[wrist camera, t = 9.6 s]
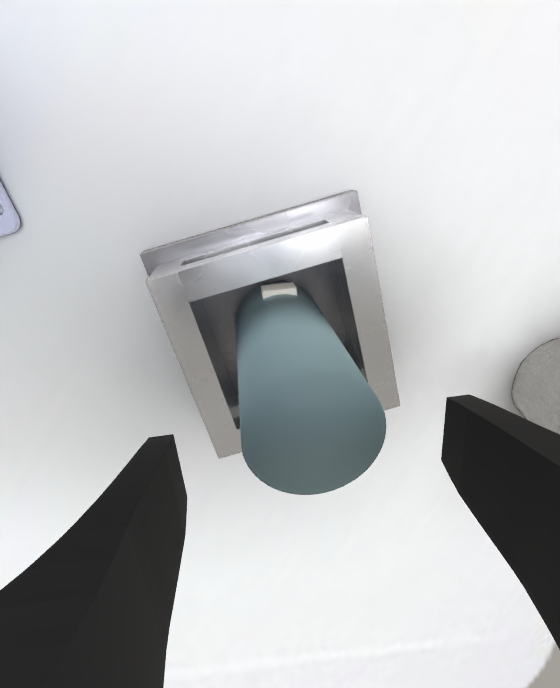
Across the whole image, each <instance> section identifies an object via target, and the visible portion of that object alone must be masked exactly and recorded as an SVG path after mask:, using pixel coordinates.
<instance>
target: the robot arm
mask: <svg viewBox="0 0 560 688" xmlns="http://www.w3.org/2000/svg"><path fill="white" fill-rule="evenodd" d="M0 205H1V206H2V207H3V214H2V215H0V236H4V235H7V234H10V233H14V232H15V231H17V230H18V229H19V227H20V220H19V217H18V215H17V213H16V211H15V209H14V207H13V205H12V203H11V201H10V199H9V197H8V195H7V193H6V191H5V189H4V187H3V185H2V183H1V182H0ZM441 460H442V462H443V464H444V466H445V468H446V470H447V472H448V474H449V476H450V478H451V480H452V482H453V484H454V486H455V487H456V489H457V491H458V493H459V494H460V496H461V497H462V499H463V500H464V502H465V503H466V505H467V506H468V508H469V509H470V510H471V512H472V513H473V515H474V516H475V518H476V519H477V520H478V522H479V523H480V525H481V526H482V528H483V529H484V530H485V532H486V533H487V535H488V536H489V537H490V539H491V540H492V542H493V543H494V544H495V546H496V547H497V549H498V550H499V551H500V553H501V554H502V556H503V557H504V558H505V560H506V561H507V563H508V564H509V565H510V567H511V568H512V570H513V571H514V573H515V574H516V576H517V577H518V579H519V580H520V582H521V583H522V585H523V586H524V588H525V590H526V591H527V593H528V595H529V596H530V598H531V600H532V602H533V603H534V605H535V607H536V608H537V610H538V612H539V614H540V615H541V617H542V619H543V620H544V622H545V624H546V626H547V627H548V629H549V631H550V633H551V634H552V636H553V638H554V640H555V642H556V644H557V645H558V647H559V649H560V434H558V433H555V432H553V431H551V430H549V429H546V428H544V427H542V426H540V425H537V424H535V423H533V422H531V421H529V420H526V419H524V418H522V417H520V416H518V415H515V414H513V413H511V412H509V411H507V410H505V409H502V408H500V407H498V406H496V405H494V404H491V403H489V402H487V401H484V400H482V399H479V398H477V397H474V396H471V395H462V396H455V397H447V401H446V412H445V423H444V435H443V446H442V457H441ZM186 513H187V494H186V489H185V485H184V480H183V476H182V471H181V467H180V462H179V458H178V453H177V449H176V444H175V440H174V436H173V434H172V435H164V436H157V437H150V438H148V439H147V441H146V442H145V443H144V444H143V445H142V446H141V448H140V449H139V450H138V451H137V453H136V454H135V455H134V456H133V457H132V459H131V460H130V461H129V462H128V464H127V465H126V466H125V467H124V469H123V470H122V471H121V472H120V473H119V475H118V476H117V477H116V478H115V479H114V481H113V482H112V483H111V484H110V485H109V486H108V488H107V489H106V490H105V491H104V492H103V493H102V495H101V496H100V497H99V498H98V499H97V500H96V501H95V502H94V503H93V504H92V506H91V507H90V508H89V509H88V510H87V511H86V512H85V513H84V514H83V515H82V516H81V517H80V518H79V520H78V521H77V522H76V523H75V524H74V525H73V526H72V527H71V528H70V529H69V530H68V531H67V532H66V533H65V534H64V535H63V536H62V537H61V538H60V539H59V540H58V541H57V542H56V543H55V544H53V545H52V546H51V547H50V548H49V549H48V550H47V551H46V552H45V553H44V554H43V555H41V556H40V557H39V558H38V559H37V560H36V561H35V562H34V563H33V564H32V565H30V566H29V567H28V568H27V569H26V570H25V571H23V572H22V573H21V574H20V575H19V576H17V577H16V578H15V579H14V580H12V581H11V582H10V583H9V584H8V585H6V586H5V587H4V588H3V589H1V590H0V688H163V684H164V672H165V660H166V649H167V641H168V634H169V627H170V621H171V615H172V610H173V604H174V598H175V592H176V587H177V581H178V575H179V569H180V564H181V558H182V552H183V546H184V540H185V531H186Z"/></svg>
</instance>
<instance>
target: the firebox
mask: <svg viewBox="0 0 560 688" xmlns="http://www.w3.org/2000/svg"><path fill="white" fill-rule="evenodd" d="M140 256H141V258H142V261H143V263H144V266H145V268H146V271H147V273H148V276H149V278H148V279H147V280H146V283H147V285H148V288H149V290H150V293H151V295H152V297H153V300H154V302H155V305H156V307H157V310H158V312H159V314H160V317H161V319H162V322H163V324H164V327H165V329H166V331H167V334H168V336H169V339H170V341H171V344H172V346H173V348H174V351H175V353H176V356H177V358H178V361H179V363H180V365H181V368H182V370H183V373H184V375H185V378H186V380H187V382H188V385H189V387H190V390H191V392H192V395H193V397H194V399H195V402H196V404H197V407H198V409H199V411H200V414H201V416H202V419H203V421H204V424H205V426H206V428H207V431H208V433H209V436H210V438H211V441H212V443H213V445H214V448H215V450H216V453H217V455H218V458H223V457H226V456H230V455H233V454H236V453H240V452H242V448H241V434H240V412H239V391H238V369H237V348H236V326H235V321H236V315H237V311H238V309H239V306H240V305H241V303H242V301H243V300H244V299H245V297H246V296H247V295H248V294H249V293H251V292H252V291H253V290H255V289H256V288H258V287H260V286H261V285H265V284H268V283H274V282H285V283H291V282H293V283H294V284H295V285H296V286H298V287H300V288H302V289H303V290H305V291H306V292H307V293H308V294H309V295H310V296H311V297H312V298H313V300H314V301H315V303H316V304H317V306H318V307H319V309H320V310H321V312H322V313H323V315H324V316H325V318H326V319H327V321H328V323H329V324H330V326H331V327H332V329H333V330H334V332H335V333H336V335H337V336H338V338H339V339H340V341H341V342H342V344H343V346H344V347H345V349H346V350H347V352H348V353H349V355H350V356H351V358H352V359H353V361H354V362H355V364H356V366H357V367H358V369H359V370H360V372H361V373H362V375H363V376H364V378H365V379H366V381H367V382H368V384H369V385H370V387H371V389H372V390H373V392H374V393H375V395H376V396H377V398H378V400H379V401H380V403H381V405H382V407H383V410H387V409H391V408H394V407H398V406H400V402H399V396H398V391H397V385H396V379H395V373H394V367H393V362H392V356H391V350H390V344H389V338H388V333H387V327H386V321H385V315H384V309H383V304H382V298H381V292H380V286H379V280H378V275H377V269H376V263H375V257H374V251H373V246H372V240H371V234H370V228H369V222H368V217H367V216H365V215H362V214H361V210H360V204H359V199H358V193H357V191H354V190H351V191H347V192H344V193H340V194H337V195H334V196H330V197H327V198H323V199H320V200H317V201H313V202H310V203H306V204H303V205H299V206H296V207H293V208H289V209H286V210H282V211H279V212H276V213H272V214H269V215H265V216H262V217H258V218H255V219H252V220H248V221H245V222H241V223H238V224H235V225H231V226H228V227H224V228H221V229H217V230H214V231H211V232H207V233H204V234H200V235H197V236H194V237H190V238H187V239H183V240H180V241H176V242H173V243H170V244H166V245H163V246H159V247H156V248H153V249H149V250H146V251H143V252H142V253H141V254H140Z"/></svg>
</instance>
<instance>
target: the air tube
mask: <svg viewBox="0 0 560 688" xmlns="http://www.w3.org/2000/svg"><path fill="white" fill-rule="evenodd" d="M235 326H236V348H237V369H238V391H239V412H240V434H241V448H242V453H243V456H244V459H245V461H246V463H247V465H248V467H249V468H250V470H251V471H252V472H253V473H254V475H255V476H256V477H258V478H259V479H260V480H261V481H262V482H264V483H265V484H267V485H268V486H270V487H272V488H274V489H277V490H280V491H282V492H286V493H290V494H298V495H312V494H320V493H325V492H329V491H332V490H335V489H338V488H340V487H343V486H344V485H346V484H348V483H350V482H352V481H353V480H355V479H356V478H358V477H359V476H360V475H361V474H362V473H364V472H365V471H366V470H367V469H368V468H369V467H370V466H371V464H372V463H373V462H374V460H375V459H376V457H377V456H378V454H379V452H380V450H381V448H382V445H383V442H384V439H385V434H386V418H385V413H384V410H383V407H382V405H381V403H380V401H379V400H378V398H377V396H376V395H375V393H374V392H373V390H372V389H371V387H370V385H369V384H368V382H367V381H366V379H365V378H364V376H363V375H362V373H361V372H360V370H359V369H358V367H357V366H356V364H355V362H354V361H353V359H352V358H351V356H350V355H349V353H348V352H347V350H346V349H345V347H344V346H343V344H342V342H341V341H340V339H339V338H338V336H337V335H336V333H335V332H334V330H333V329H332V327H331V326H330V324H329V323H328V321H327V319H326V318H325V316H324V315H323V313H322V312H321V310H320V309H319V307H318V306H317V304H316V303H315V301H314V300H313V298H312V297H311V296H310V295H309V294H308V293H307V292H306V291H305V290H303V289H302V288H300V287H298V286H296V285H295V284H294V283H293V282H291V283H285V282H274V283H268V284H265V285H261V286H260V287H258V288H256V289H255V290H253V291H252V292H251V293H249V294H248V295H247V296H246V297H245V299H244V300H243V301H242V303H241V305H240V306H239V309H238V311H237V315H236V321H235Z"/></svg>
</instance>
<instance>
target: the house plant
mask: <svg viewBox="0 0 560 688" xmlns="http://www.w3.org/2000/svg"><path fill="white" fill-rule="evenodd" d="M512 397H513V400H514V403H515V405H516V406H517V407H518V409H519V410H520V411H521V412H522V414H523V415H524V416H525V417H526V419H527V420H529V421H531V422H533V423H535V424H537V425H540V426H542V427H544V428H546V429H549V430H551V431H553V432H555V433H558V434H560V338H558V339H554V340H551V341H549V342H547V343H545V344H543V345H541V346H539V347H538V348H537V349H535V350H534V351H533V352H531V353H530V354H529V355H528V356H527V357H526V359H525V360H524V361H523V362H522V363H521V365H520V367H519V369H518V372H517V374H516V377H515V380H514V383H513V389H512Z"/></svg>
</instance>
